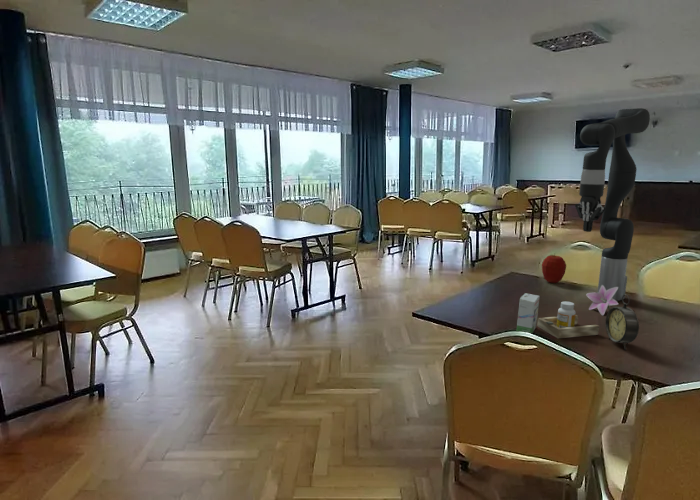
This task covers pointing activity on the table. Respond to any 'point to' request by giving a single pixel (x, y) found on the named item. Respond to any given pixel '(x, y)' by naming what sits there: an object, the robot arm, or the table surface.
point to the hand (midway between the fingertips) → (587, 231)
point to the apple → (553, 268)
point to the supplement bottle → (566, 315)
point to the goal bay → (566, 328)
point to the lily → (602, 299)
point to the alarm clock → (622, 324)
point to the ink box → (528, 313)
